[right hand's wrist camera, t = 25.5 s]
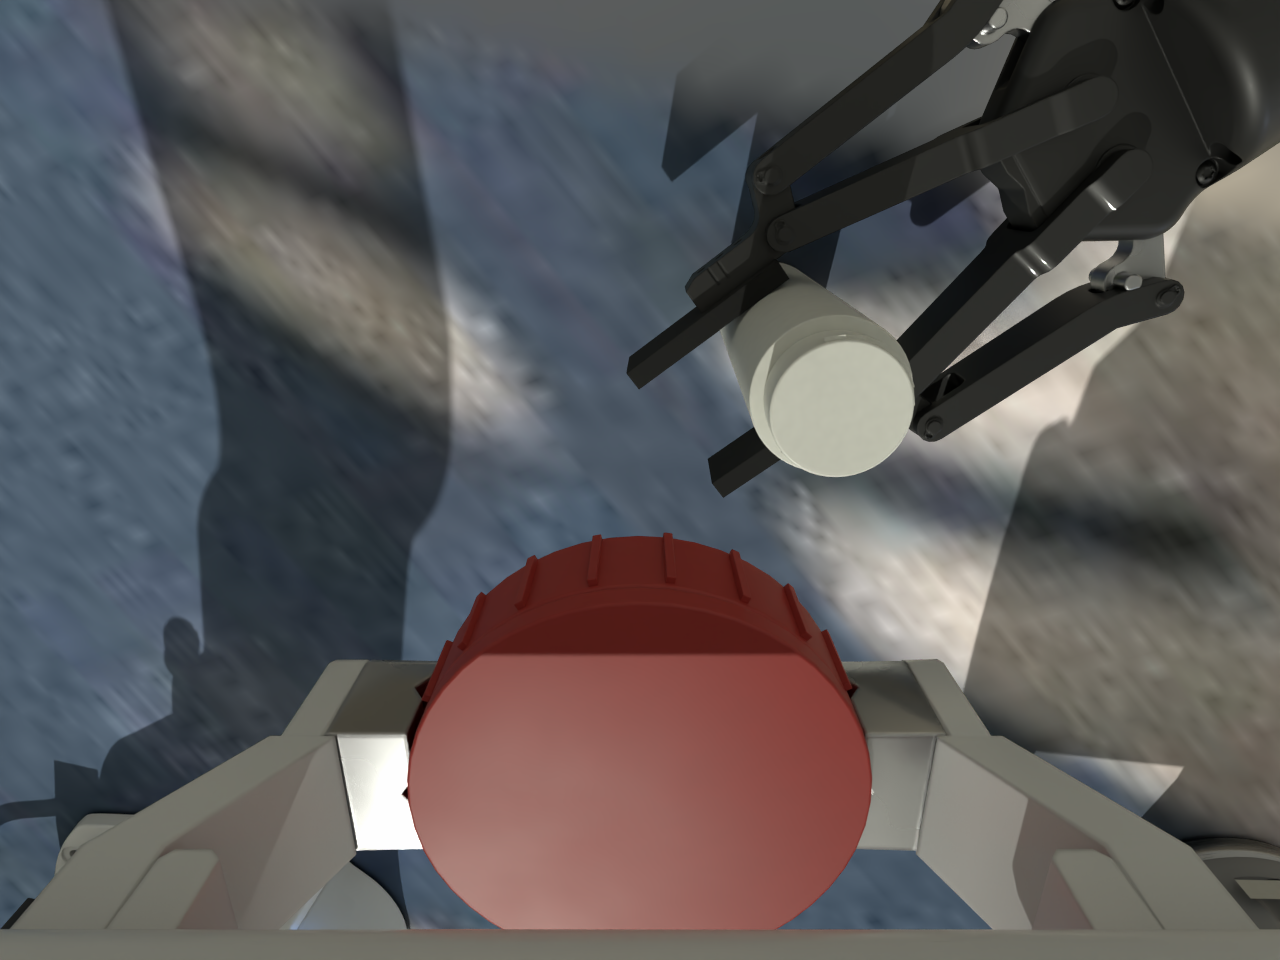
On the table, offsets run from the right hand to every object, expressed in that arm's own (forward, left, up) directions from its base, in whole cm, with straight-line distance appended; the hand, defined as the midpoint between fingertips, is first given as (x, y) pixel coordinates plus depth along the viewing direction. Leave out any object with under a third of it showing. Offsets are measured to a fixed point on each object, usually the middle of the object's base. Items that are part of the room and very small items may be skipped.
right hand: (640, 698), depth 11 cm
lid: (0, 0, +2) cm, 2 cm away
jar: (+5, +2, -26) cm, 26 cm away
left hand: (+1, -2, -19) cm, 19 cm away
